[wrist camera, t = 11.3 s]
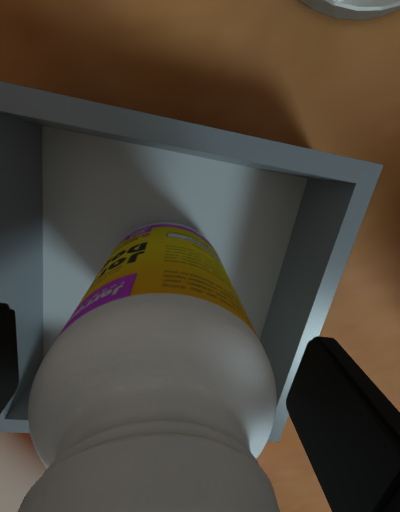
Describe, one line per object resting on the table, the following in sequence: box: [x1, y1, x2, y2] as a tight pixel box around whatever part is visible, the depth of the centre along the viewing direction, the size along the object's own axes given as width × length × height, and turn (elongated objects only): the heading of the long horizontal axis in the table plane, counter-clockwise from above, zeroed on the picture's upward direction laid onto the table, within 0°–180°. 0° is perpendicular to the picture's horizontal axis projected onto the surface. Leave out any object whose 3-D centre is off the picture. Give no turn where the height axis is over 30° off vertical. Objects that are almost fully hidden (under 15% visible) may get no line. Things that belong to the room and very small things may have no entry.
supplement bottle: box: [18, 222, 280, 512], centre depth 10 cm, size 7×7×13 cm
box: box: [0, 81, 383, 442], centre depth 14 cm, size 16×16×5 cm
